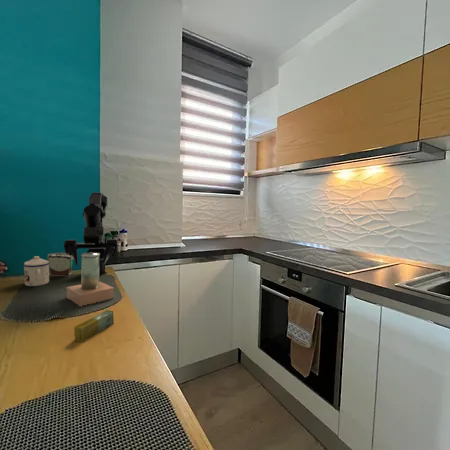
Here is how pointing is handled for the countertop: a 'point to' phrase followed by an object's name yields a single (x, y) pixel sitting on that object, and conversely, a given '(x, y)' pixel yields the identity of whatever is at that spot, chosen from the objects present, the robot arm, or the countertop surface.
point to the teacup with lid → (36, 272)
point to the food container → (60, 264)
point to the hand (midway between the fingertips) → (90, 264)
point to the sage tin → (90, 270)
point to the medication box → (93, 326)
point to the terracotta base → (90, 294)
